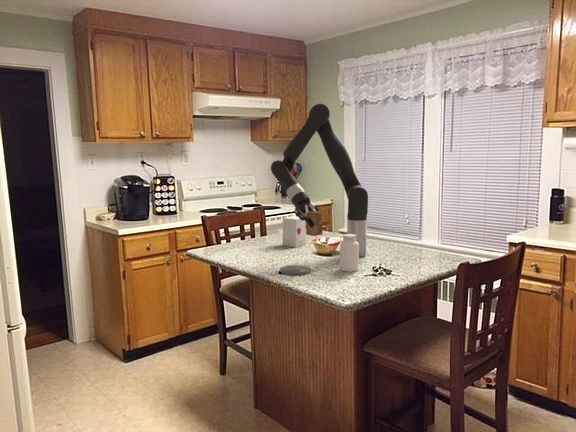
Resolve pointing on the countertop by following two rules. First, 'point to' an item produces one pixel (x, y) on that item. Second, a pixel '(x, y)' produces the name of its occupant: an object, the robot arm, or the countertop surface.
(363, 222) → the robot arm
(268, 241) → the countertop surface
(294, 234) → the supplement box
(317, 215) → the walnut block
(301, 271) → the disc
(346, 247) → the pill bottle
